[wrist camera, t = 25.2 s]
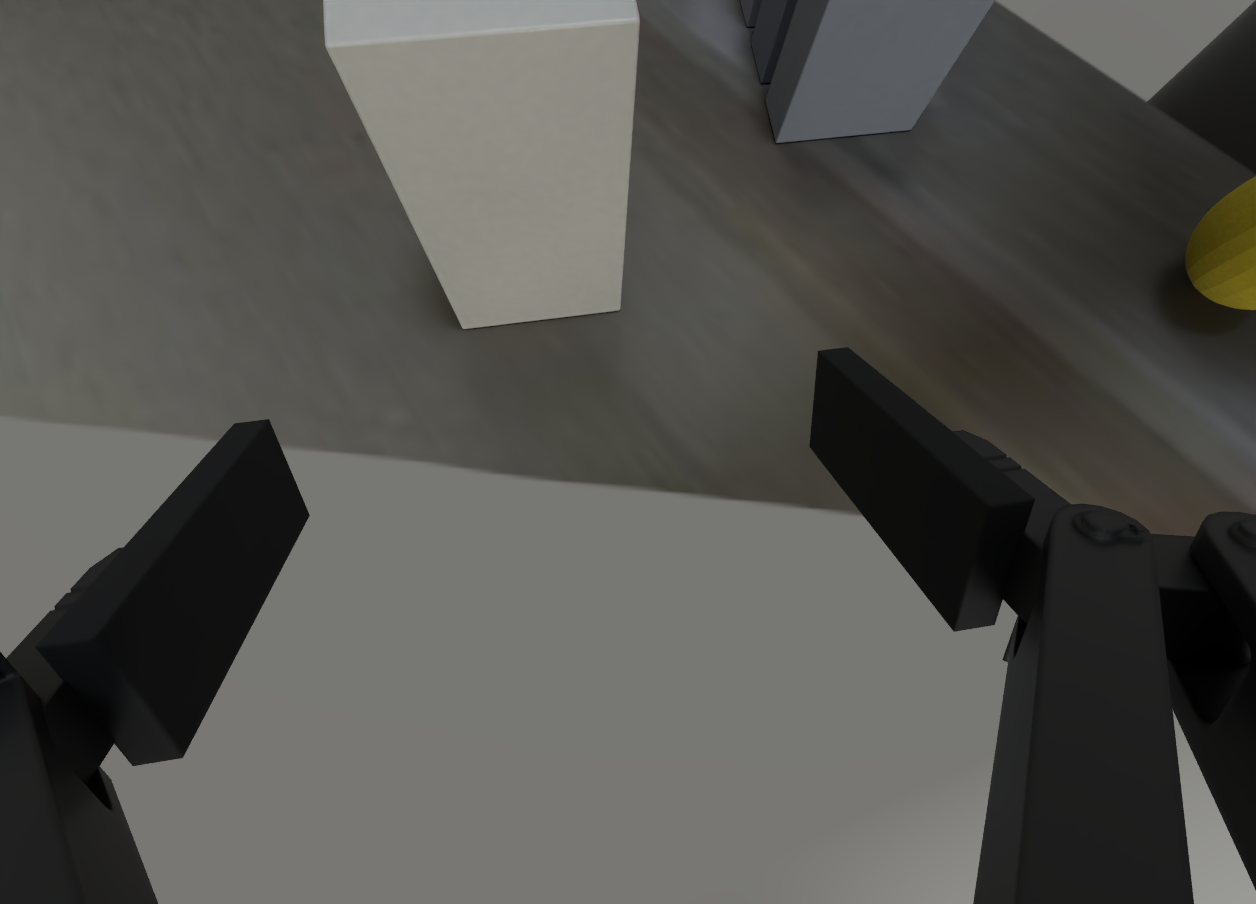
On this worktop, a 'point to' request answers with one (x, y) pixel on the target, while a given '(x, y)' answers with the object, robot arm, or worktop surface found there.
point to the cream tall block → (502, 141)
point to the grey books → (855, 61)
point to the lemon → (1226, 250)
